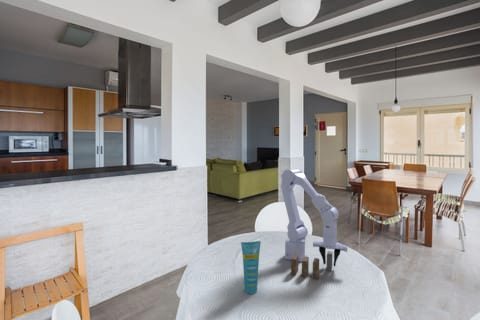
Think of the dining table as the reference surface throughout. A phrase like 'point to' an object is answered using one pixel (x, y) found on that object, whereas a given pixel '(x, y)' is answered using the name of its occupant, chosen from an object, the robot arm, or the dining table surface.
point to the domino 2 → (305, 266)
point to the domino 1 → (294, 264)
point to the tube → (250, 265)
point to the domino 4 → (329, 260)
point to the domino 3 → (315, 268)
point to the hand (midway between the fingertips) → (329, 264)
